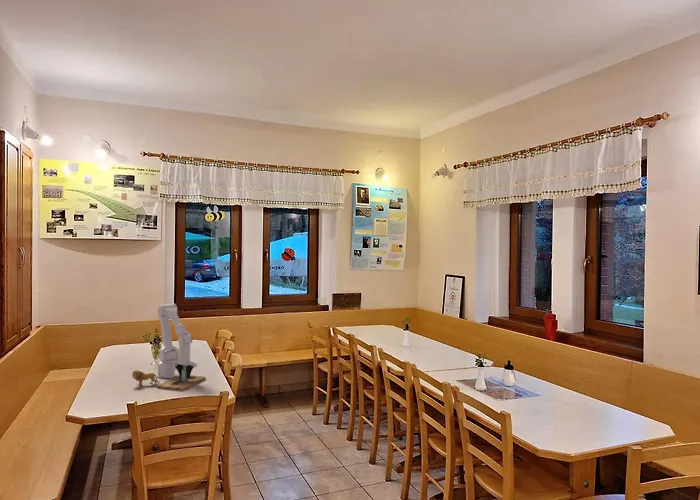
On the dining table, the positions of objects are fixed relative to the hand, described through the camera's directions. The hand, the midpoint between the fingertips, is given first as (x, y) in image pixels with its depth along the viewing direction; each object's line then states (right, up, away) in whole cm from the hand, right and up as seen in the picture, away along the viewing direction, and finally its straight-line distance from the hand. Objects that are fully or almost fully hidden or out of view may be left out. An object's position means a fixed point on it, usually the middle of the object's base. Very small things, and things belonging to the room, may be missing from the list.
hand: (184, 377), depth 287 cm
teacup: (-18, -2, +39) cm, 43 cm away
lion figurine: (-20, -3, -7) cm, 22 cm away
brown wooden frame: (-1, -3, -2) cm, 4 cm away
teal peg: (0, -2, 0) cm, 2 cm away
